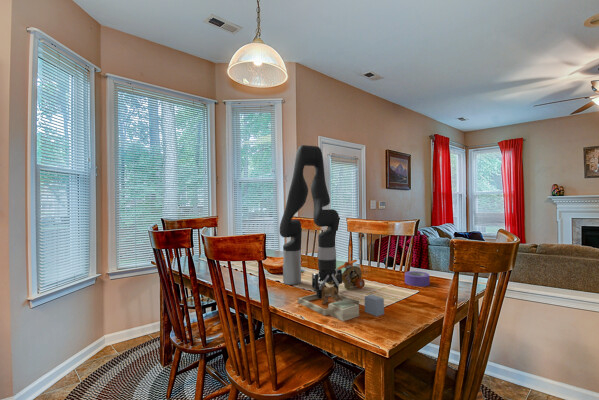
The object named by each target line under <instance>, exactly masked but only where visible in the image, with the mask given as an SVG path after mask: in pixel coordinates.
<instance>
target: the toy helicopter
mask: <svg viewBox="0 0 599 400" xmlns="http://www.w3.org/2000/svg"><path fill="white" fill-rule="evenodd" d="M357 262H358V259H353V260H351V261H345V262H344V264H343V265H340V266H338V267H336V269H340V270H342V269H344V271H342V284H343V286H344V288H345V289H346V290H350V289H351V288H353V287H356V288H357V289H361V290H362V289H363V288H364V287H365V286H366V281H365V280H364V279H363V278H362V275H363V273H362V269H361V268H360V267H359V266H357V265H352V264H354V263H357ZM335 278H336V275H335ZM327 285H330V286H333V285H334V284H333V283H332V282H328V283H327Z"/></svg>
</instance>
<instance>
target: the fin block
mask: <svg viewBox="0 0 599 400" xmlns="http://www.w3.org/2000/svg"><path fill="white" fill-rule="evenodd" d="M384 300H385V299H384V298H383V297H381V296H379V295H374V294H373V293H372V294H368V295H365V296H364V312H365V313H367V314H369V315H372V316H374V317H379V316H383V315H385V303H384V302H385V301H384Z"/></svg>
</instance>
